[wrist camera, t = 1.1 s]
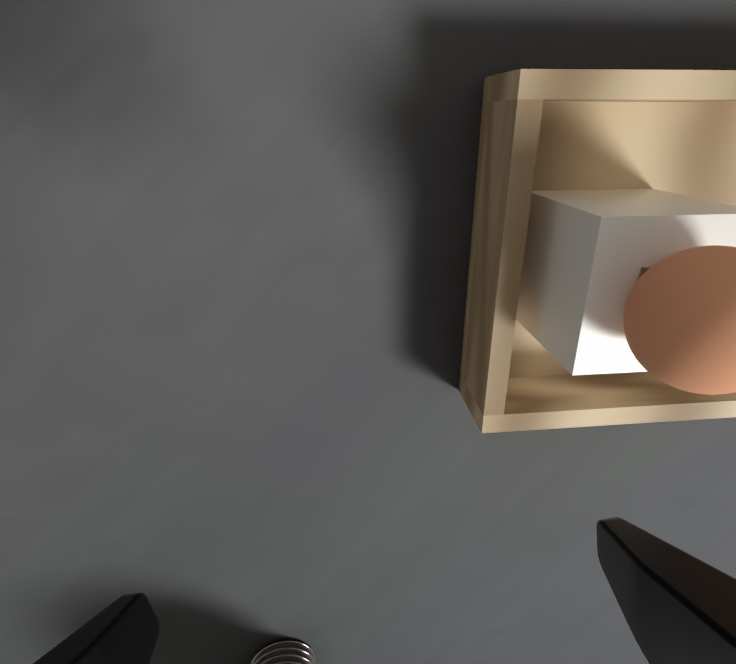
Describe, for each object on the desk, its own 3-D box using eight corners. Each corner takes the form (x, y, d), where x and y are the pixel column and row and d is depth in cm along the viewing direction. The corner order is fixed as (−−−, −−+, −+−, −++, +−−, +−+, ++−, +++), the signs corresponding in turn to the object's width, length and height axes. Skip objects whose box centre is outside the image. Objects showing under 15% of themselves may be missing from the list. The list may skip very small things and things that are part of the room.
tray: (459, 390, 22) (481, 433, 19) (484, 76, 17) (520, 68, 14) (776, 373, 24) (843, 410, 21) (885, 78, 19) (995, 71, 16)
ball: (597, 366, 16) (681, 440, 12) (594, 248, 14) (690, 293, 11) (716, 338, 16) (835, 403, 12) (728, 216, 14) (868, 251, 11)
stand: (507, 310, 21) (572, 375, 16) (522, 188, 19) (601, 217, 14) (619, 306, 21) (718, 367, 16) (644, 186, 19) (767, 213, 14)
